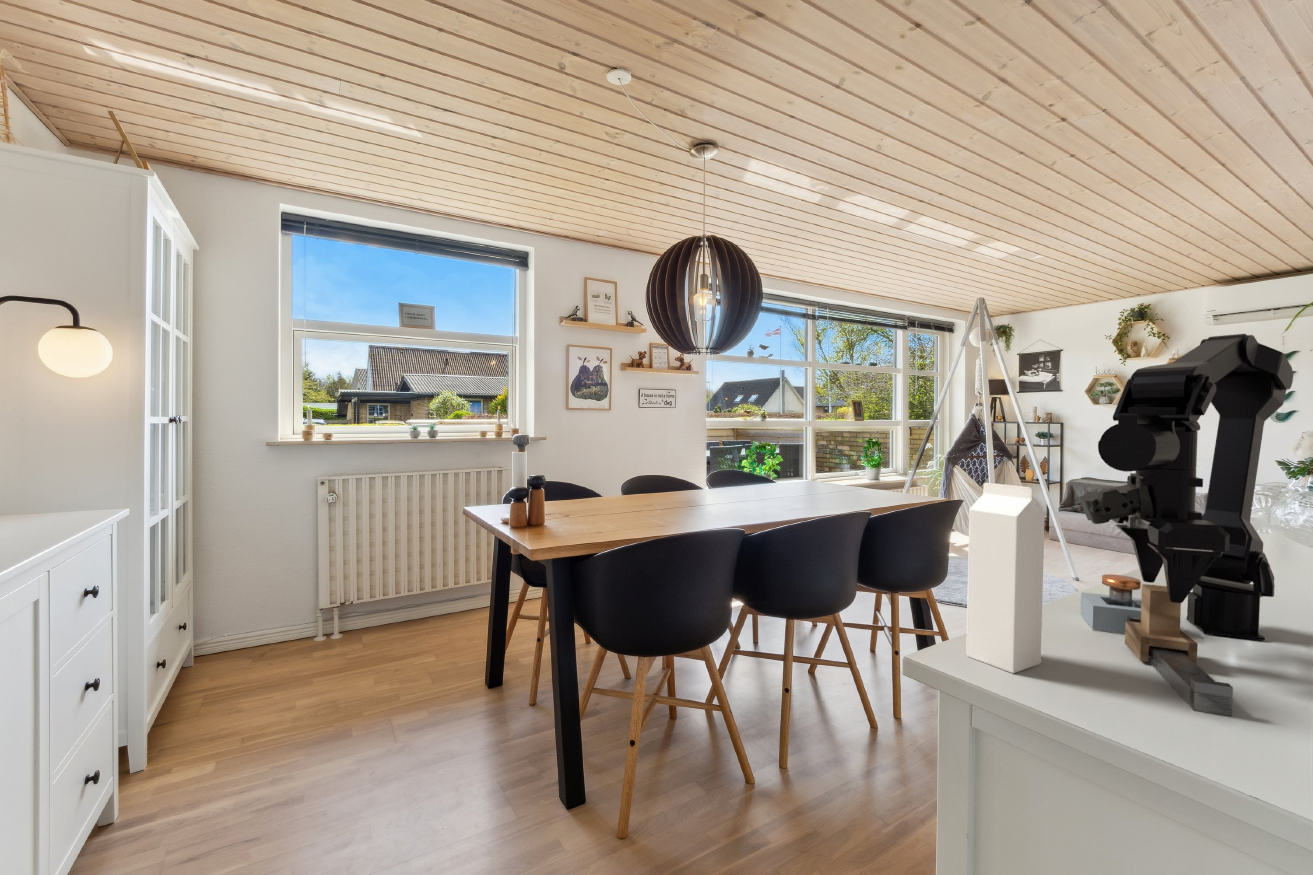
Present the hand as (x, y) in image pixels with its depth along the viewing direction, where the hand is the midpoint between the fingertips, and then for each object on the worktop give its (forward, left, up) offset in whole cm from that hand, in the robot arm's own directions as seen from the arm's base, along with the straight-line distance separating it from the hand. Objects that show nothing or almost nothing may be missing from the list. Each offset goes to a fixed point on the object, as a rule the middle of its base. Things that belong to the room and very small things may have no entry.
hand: (1161, 591), depth 74 cm
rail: (0, +4, -9) cm, 9 cm away
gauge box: (+1, -12, -9) cm, 15 cm away
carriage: (0, 0, -9) cm, 9 cm away
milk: (+18, +9, -9) cm, 22 cm away
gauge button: (+1, -12, -6) cm, 13 cm away
